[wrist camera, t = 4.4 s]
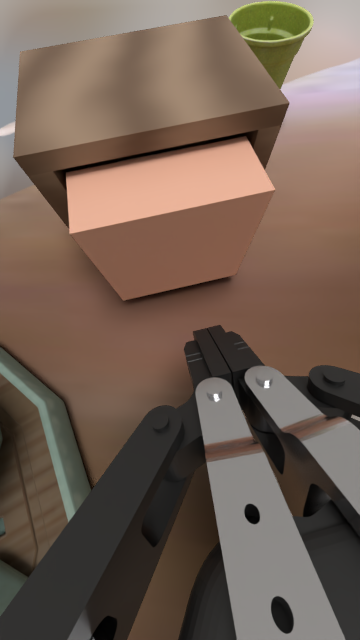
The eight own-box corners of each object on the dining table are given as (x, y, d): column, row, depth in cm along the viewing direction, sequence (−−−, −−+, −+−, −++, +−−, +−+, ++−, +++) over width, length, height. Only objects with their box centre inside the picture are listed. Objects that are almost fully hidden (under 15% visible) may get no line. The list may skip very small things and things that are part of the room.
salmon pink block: (210, 207, 23) (225, 98, 14) (235, 274, 20) (275, 189, 11) (112, 228, 22) (62, 129, 13) (123, 300, 19) (69, 233, 10)
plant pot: (282, 138, 28) (322, 36, 20) (218, 141, 28) (231, 42, 20) (272, 100, 31) (304, -2, 22) (214, 103, 31) (225, 3, 23)
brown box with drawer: (209, 175, 26) (226, 15, 15) (237, 244, 22) (289, 102, 11) (95, 199, 25) (20, 51, 14) (104, 274, 22) (13, 157, 10)
